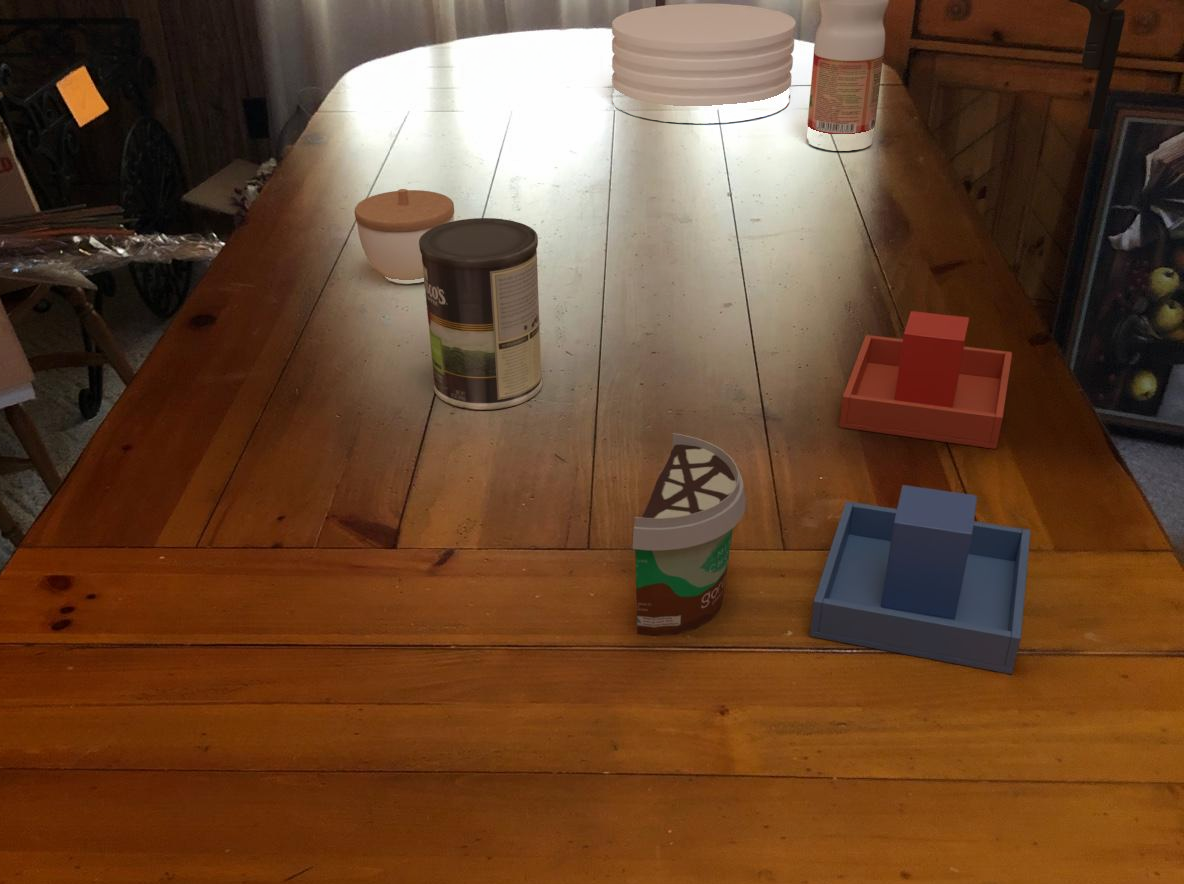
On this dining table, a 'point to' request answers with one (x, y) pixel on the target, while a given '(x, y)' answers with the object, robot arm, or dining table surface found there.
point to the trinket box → (400, 229)
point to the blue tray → (970, 639)
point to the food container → (686, 538)
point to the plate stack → (702, 54)
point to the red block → (931, 359)
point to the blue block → (929, 551)
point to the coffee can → (483, 312)
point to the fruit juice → (847, 66)
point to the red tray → (963, 424)
